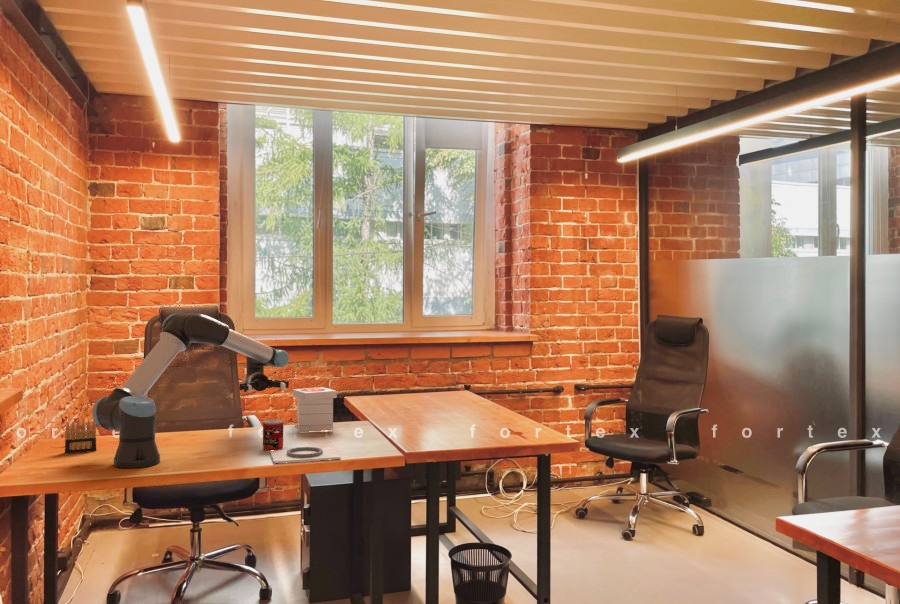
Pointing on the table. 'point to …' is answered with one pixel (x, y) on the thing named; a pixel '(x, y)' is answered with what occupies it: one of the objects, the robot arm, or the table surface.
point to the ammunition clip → (80, 438)
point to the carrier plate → (304, 454)
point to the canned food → (273, 434)
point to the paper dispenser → (315, 408)
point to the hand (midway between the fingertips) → (267, 388)
